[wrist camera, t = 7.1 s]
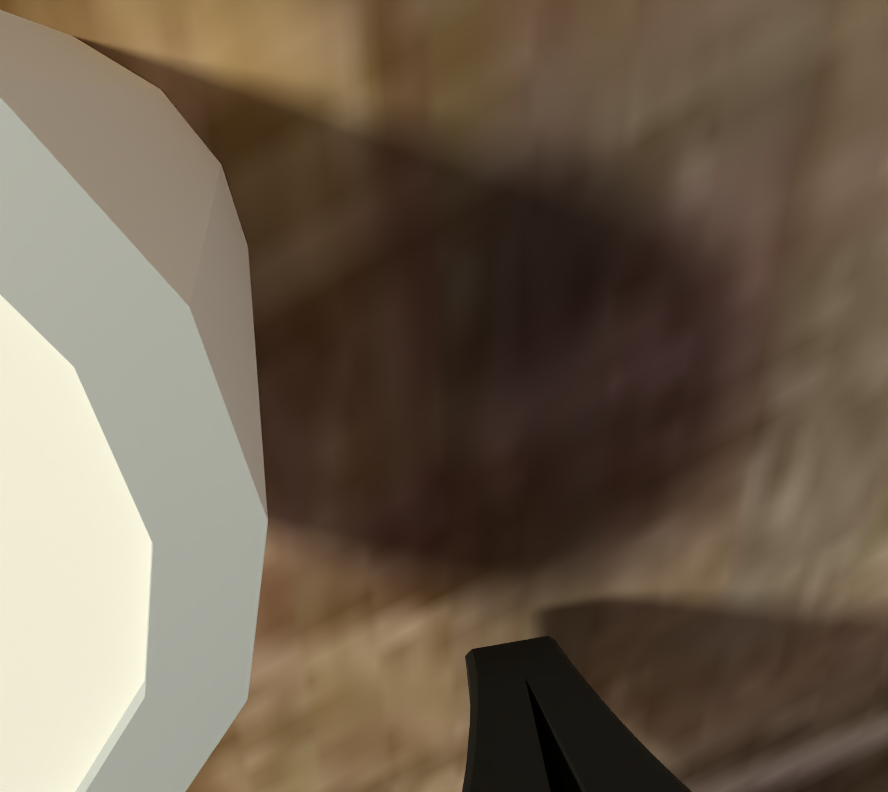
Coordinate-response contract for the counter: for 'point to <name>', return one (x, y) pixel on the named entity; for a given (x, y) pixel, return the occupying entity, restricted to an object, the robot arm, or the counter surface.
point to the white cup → (119, 430)
